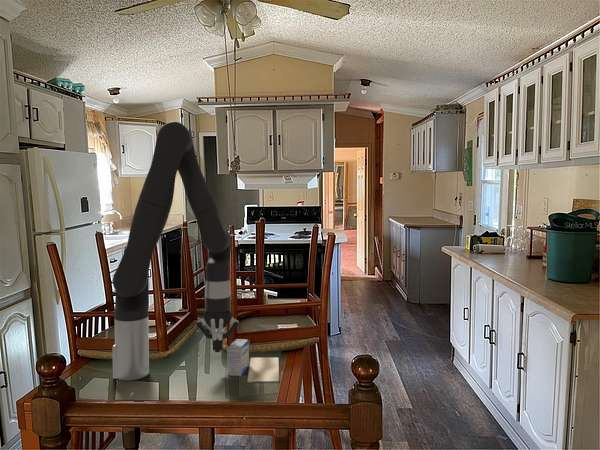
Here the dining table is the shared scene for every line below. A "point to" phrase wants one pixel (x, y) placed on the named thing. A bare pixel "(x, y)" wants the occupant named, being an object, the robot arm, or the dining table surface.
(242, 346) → the medicine box
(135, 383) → the dining table surface
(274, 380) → the board
